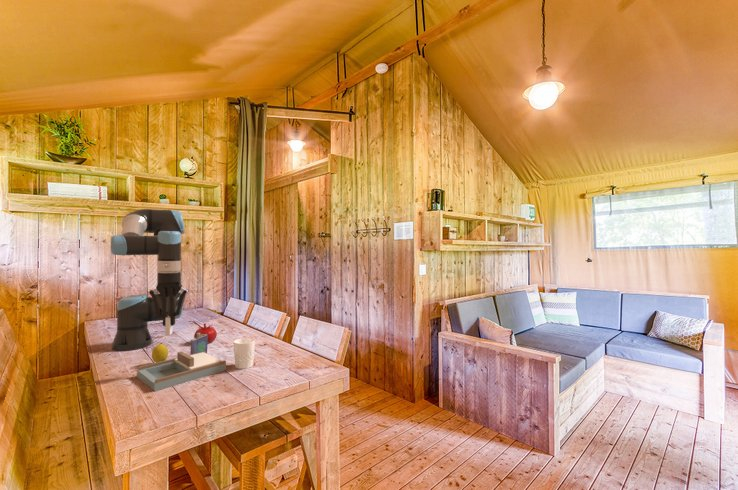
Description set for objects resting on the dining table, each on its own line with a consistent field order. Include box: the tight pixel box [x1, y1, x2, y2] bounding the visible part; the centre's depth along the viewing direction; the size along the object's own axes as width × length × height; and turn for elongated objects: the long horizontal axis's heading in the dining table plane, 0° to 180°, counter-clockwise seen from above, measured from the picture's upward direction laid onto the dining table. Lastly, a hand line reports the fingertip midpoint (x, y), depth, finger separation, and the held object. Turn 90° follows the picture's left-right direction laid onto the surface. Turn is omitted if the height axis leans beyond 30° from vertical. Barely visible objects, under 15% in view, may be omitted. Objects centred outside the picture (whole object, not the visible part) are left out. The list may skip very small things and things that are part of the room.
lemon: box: [151, 343, 169, 363], centre depth 133 cm, size 6×6×8 cm
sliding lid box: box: [136, 351, 227, 392], centre depth 123 cm, size 18×24×4 cm
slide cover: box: [175, 351, 222, 370], centre depth 128 cm, size 15×11×4 cm
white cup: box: [233, 337, 256, 370], centre depth 132 cm, size 8×8×10 cm
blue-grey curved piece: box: [190, 333, 208, 354], centre depth 140 cm, size 9×3×11 cm, turn 170°
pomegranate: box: [193, 323, 218, 344], centre depth 162 cm, size 10×10×9 cm
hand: (168, 333), depth 126 cm, fingers closed
